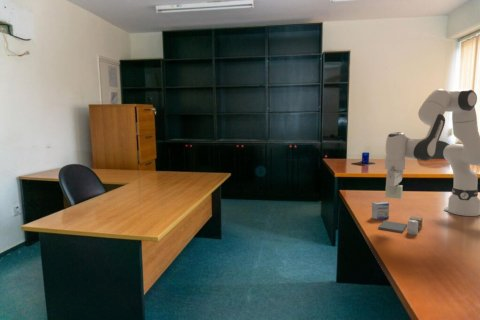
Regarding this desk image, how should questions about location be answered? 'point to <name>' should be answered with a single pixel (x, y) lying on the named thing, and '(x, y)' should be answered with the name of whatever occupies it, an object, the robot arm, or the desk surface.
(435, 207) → the desk surface
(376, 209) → the medicine box
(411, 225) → the grey plastic egg
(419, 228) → the walnut cube
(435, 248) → the desk surface
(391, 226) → the charcoal pad
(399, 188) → the sage brick
